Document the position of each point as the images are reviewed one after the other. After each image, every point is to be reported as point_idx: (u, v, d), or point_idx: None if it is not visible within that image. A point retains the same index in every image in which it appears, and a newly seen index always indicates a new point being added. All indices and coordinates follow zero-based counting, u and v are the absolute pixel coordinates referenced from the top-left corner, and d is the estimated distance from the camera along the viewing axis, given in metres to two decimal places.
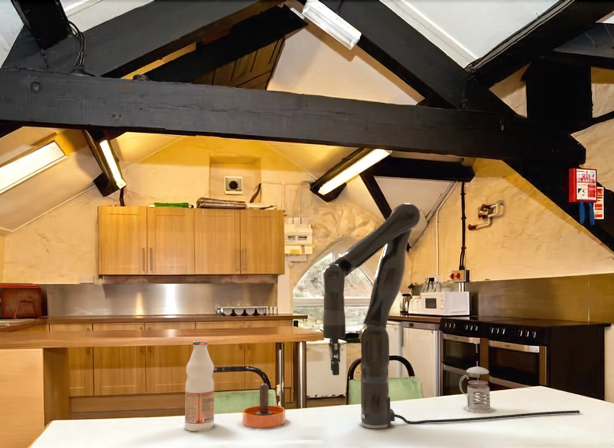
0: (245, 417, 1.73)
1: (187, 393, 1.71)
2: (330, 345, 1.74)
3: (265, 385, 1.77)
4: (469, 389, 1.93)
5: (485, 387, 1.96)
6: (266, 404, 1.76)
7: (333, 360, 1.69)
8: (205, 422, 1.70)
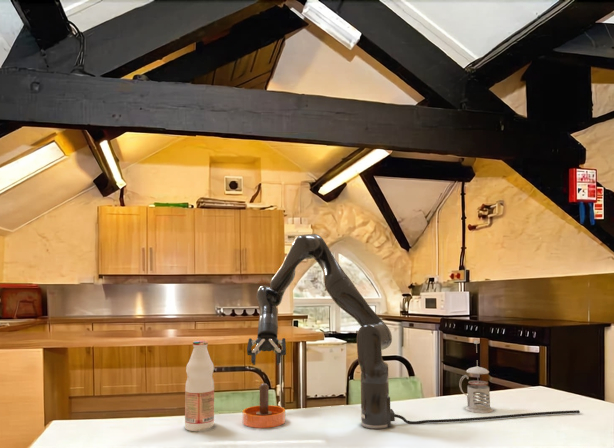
0: (245, 417, 1.73)
1: (187, 393, 1.71)
2: None
3: (265, 385, 1.77)
4: (469, 389, 1.93)
5: (485, 387, 1.96)
6: (266, 404, 1.76)
7: (247, 353, 1.94)
8: (205, 422, 1.70)
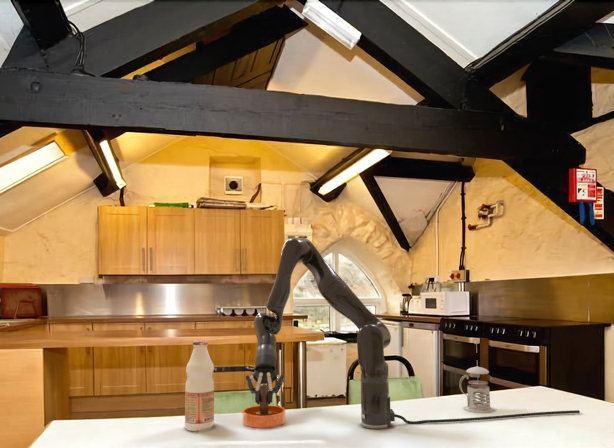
0: (245, 417, 1.73)
1: (187, 393, 1.71)
2: None
3: (265, 385, 1.77)
4: (469, 389, 1.93)
5: (485, 387, 1.96)
6: (266, 404, 1.76)
7: None
8: (205, 422, 1.70)
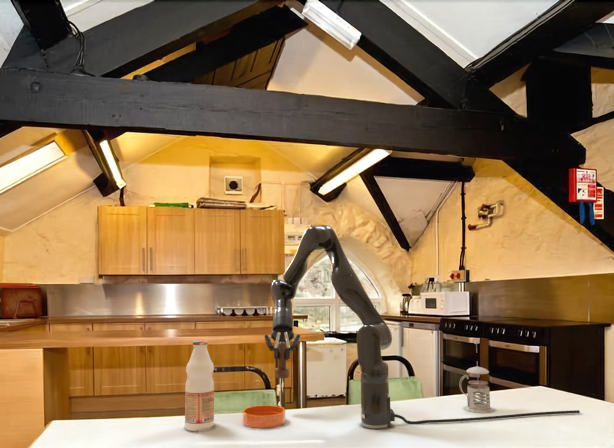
0: (245, 417, 1.73)
1: (187, 393, 1.71)
2: None
3: (283, 343, 1.90)
4: (469, 389, 1.93)
5: (485, 387, 1.96)
6: (284, 360, 1.89)
7: (269, 349, 1.92)
8: (205, 422, 1.70)
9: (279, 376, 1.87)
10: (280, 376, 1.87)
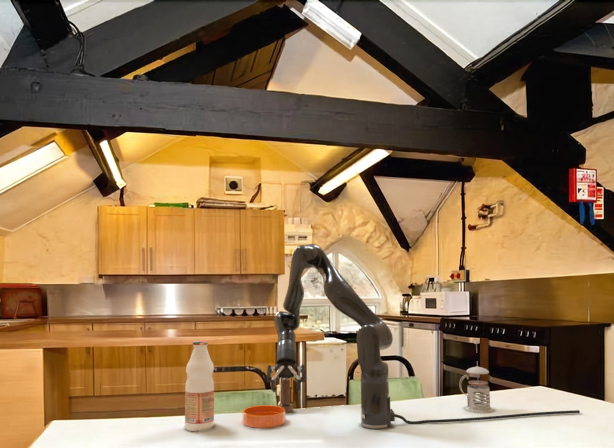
0: (245, 417, 1.73)
1: (187, 393, 1.71)
2: None
3: (287, 379, 1.91)
4: (469, 389, 1.93)
5: (485, 387, 1.96)
6: (288, 397, 1.90)
7: None
8: (205, 422, 1.70)
9: None
10: None
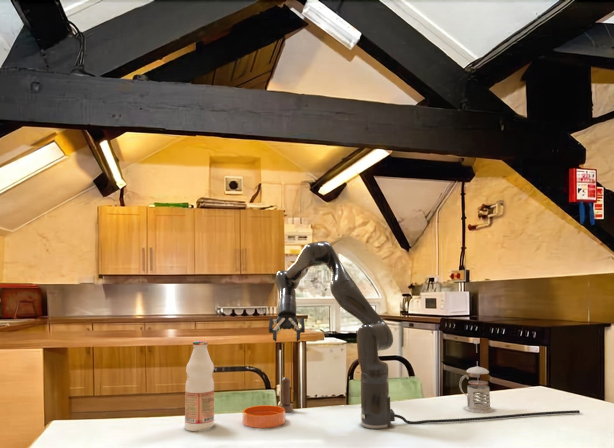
0: (245, 417, 1.73)
1: (187, 393, 1.71)
2: None
3: (287, 379, 1.91)
4: (469, 389, 1.93)
5: (485, 387, 1.96)
6: (288, 397, 1.90)
7: None
8: (205, 422, 1.70)
9: None
10: None
